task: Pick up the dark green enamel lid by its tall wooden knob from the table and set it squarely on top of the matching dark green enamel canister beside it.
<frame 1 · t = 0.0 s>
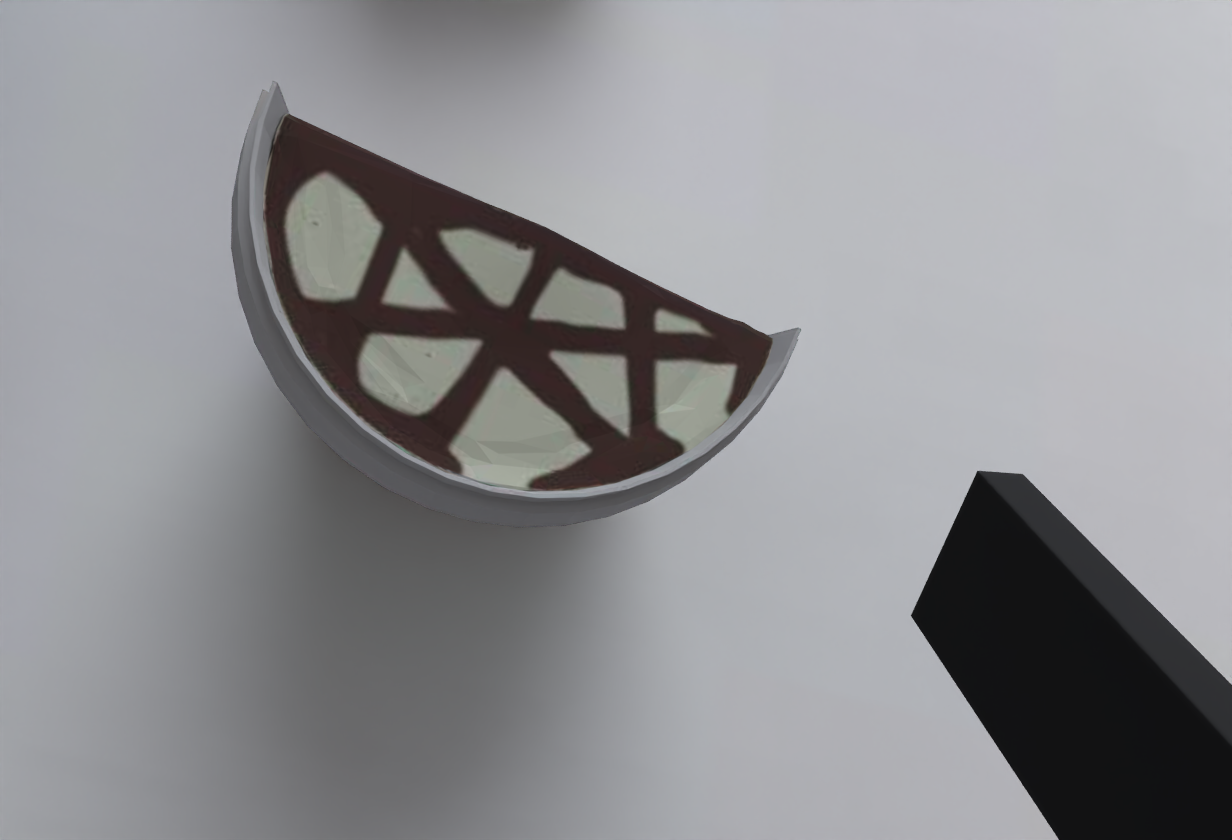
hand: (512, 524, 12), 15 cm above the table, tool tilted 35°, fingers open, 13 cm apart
food container: (446, 409, 27), on the table
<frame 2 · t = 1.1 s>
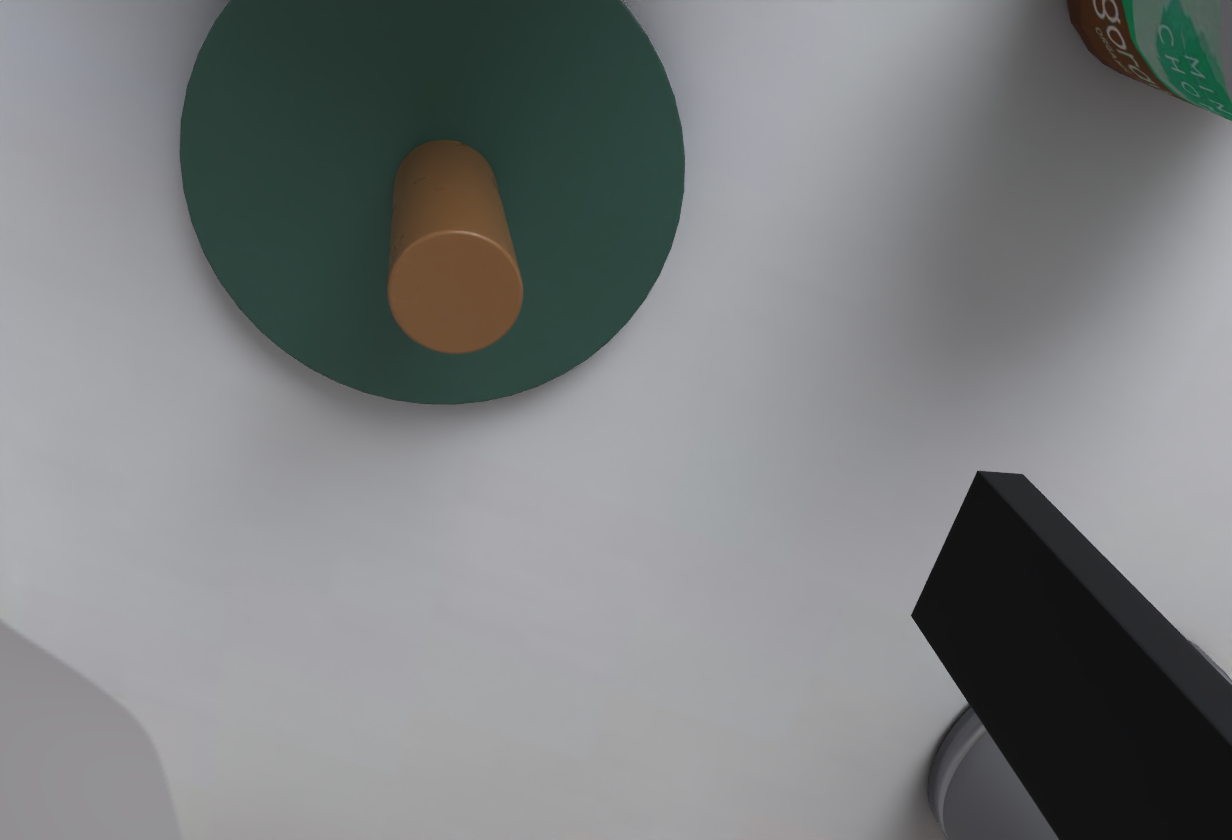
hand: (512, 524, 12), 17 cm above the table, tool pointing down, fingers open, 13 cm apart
food container: (1140, 3, 28), on the table
canister lid: (445, 183, 26), point 1 cm above the table
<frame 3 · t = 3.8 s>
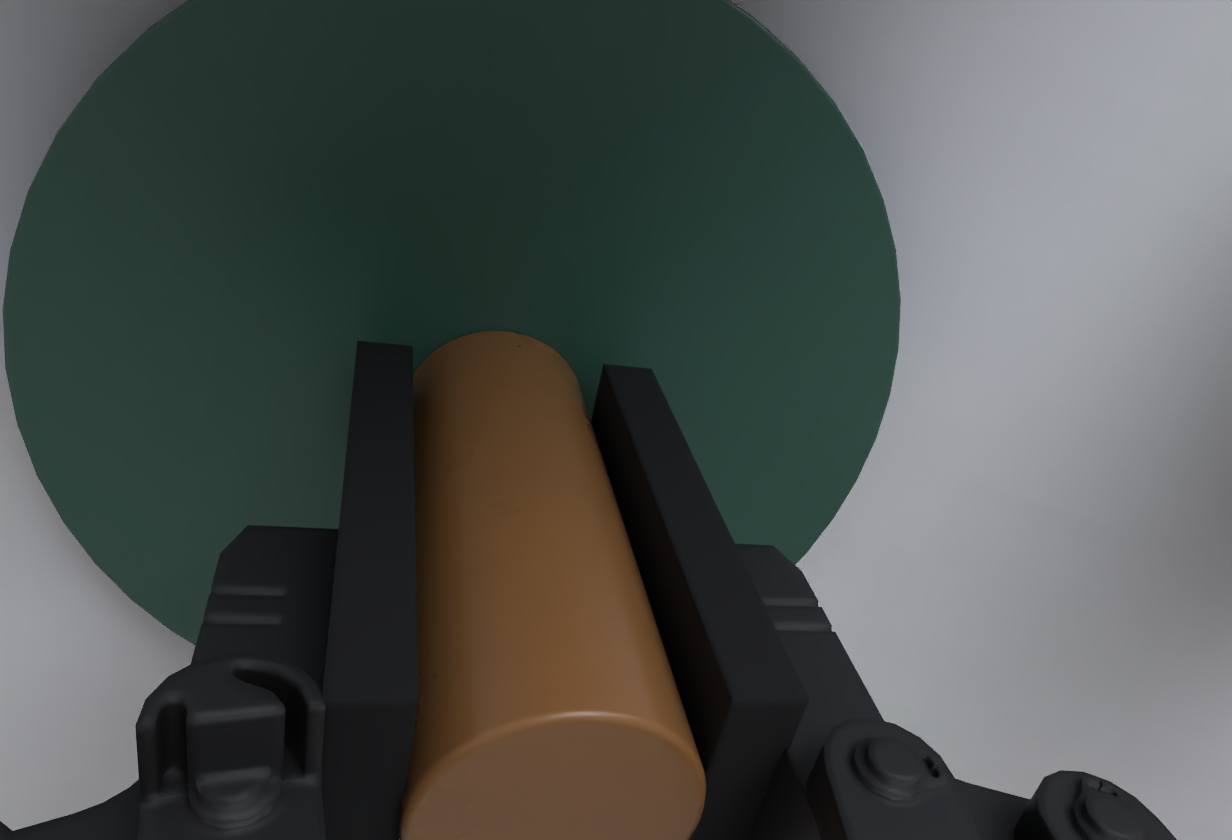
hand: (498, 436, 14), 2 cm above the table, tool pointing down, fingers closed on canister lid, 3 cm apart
canister lid: (490, 390, 15), point 1 cm above the table, touching gripper
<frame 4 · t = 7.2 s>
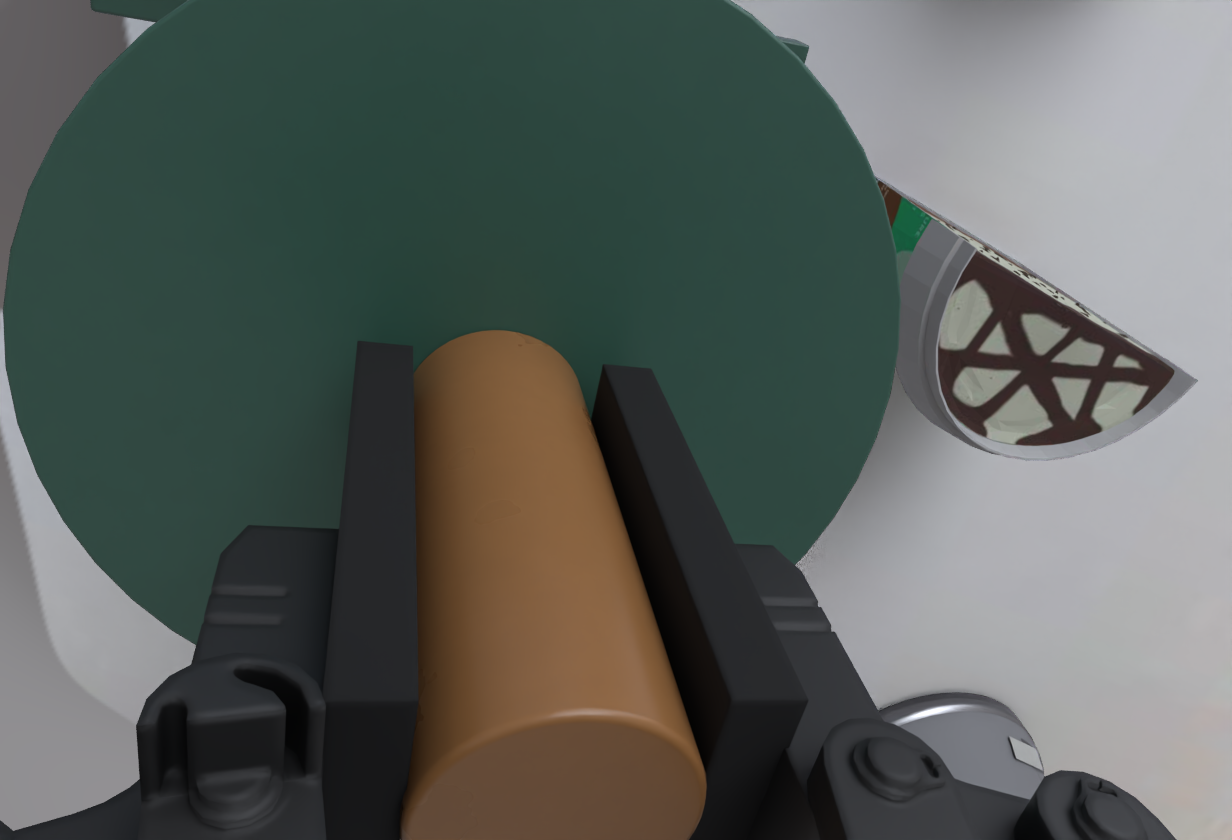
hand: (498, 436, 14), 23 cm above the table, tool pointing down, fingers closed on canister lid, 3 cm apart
food container: (901, 279, 40), on the table
canister lid: (490, 389, 15), point 21 cm above the table, touching gripper
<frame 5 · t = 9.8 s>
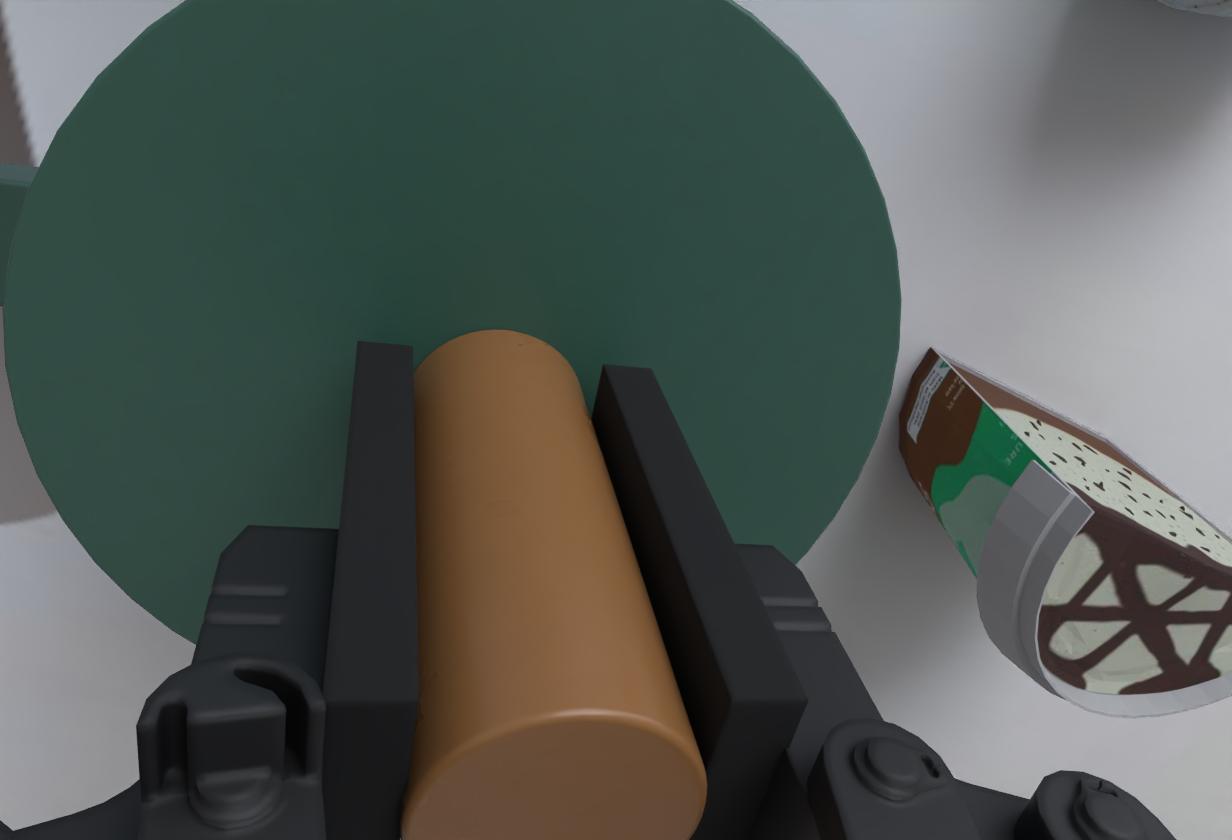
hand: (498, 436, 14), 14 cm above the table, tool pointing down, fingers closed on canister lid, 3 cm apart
food container: (967, 457, 35), on the table
canister: (457, 172, 26), on the table
canister lid: (491, 389, 15), point 13 cm above the table, touching gripper
when the fingers open (11 cm above the table, at t = 11.0 s): canister lid stays where it is, resting on canister.
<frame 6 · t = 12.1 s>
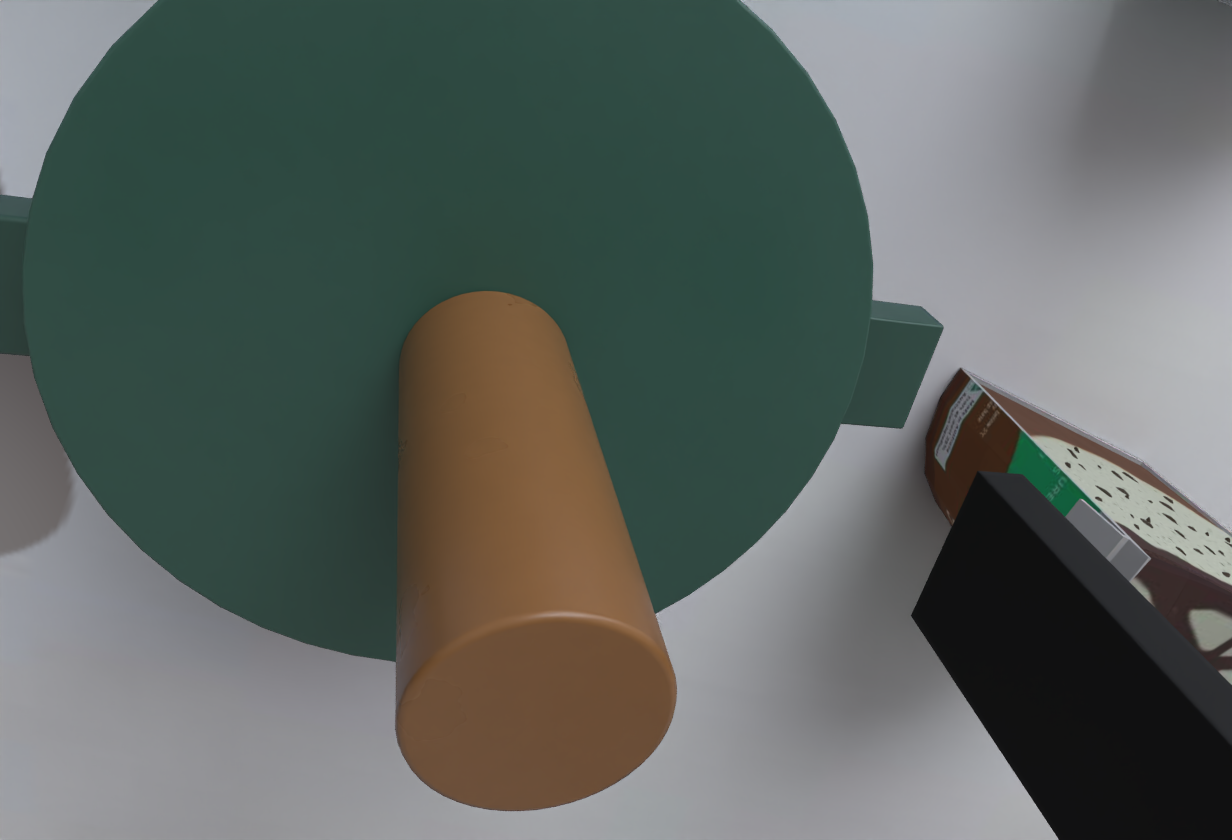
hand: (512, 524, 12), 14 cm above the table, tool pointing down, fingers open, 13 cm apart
food container: (996, 482, 33), on the table
canister: (457, 185, 24), on the table
canister lid: (483, 350, 16), point 9 cm above the table, touching canister
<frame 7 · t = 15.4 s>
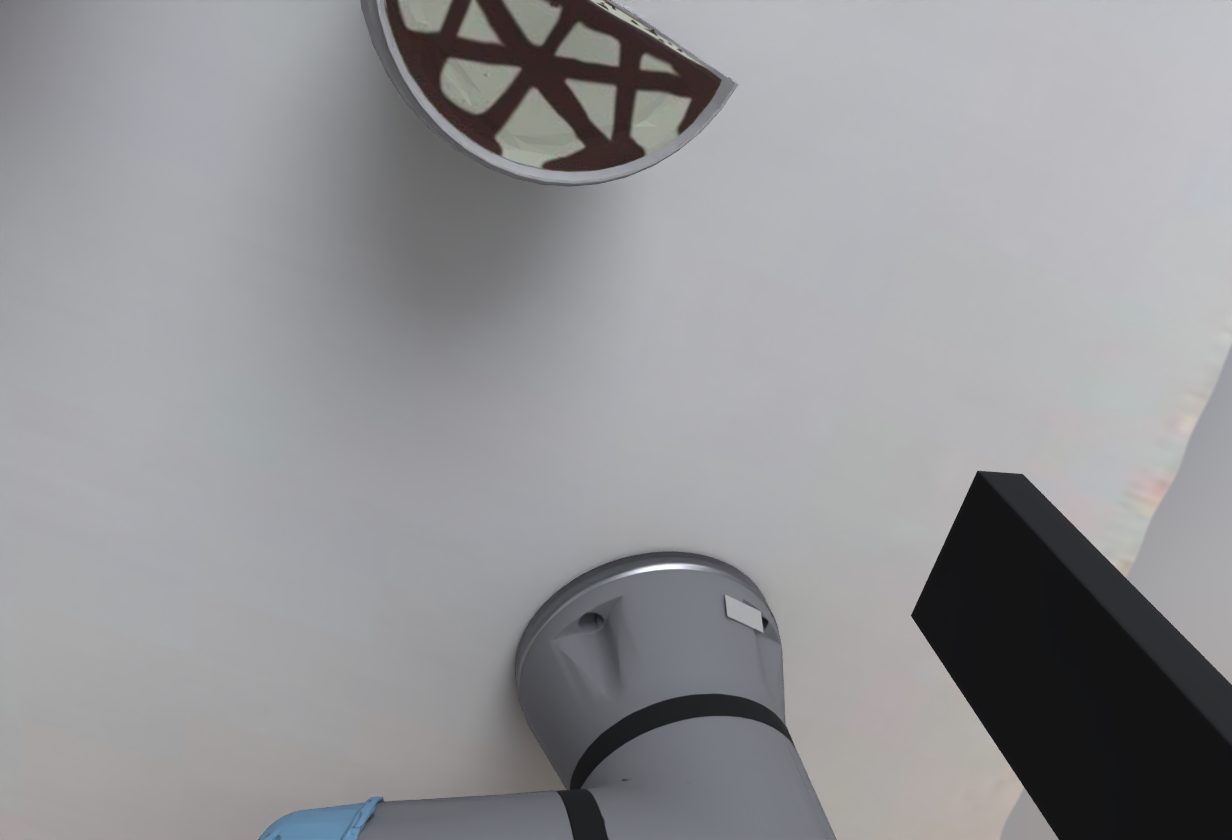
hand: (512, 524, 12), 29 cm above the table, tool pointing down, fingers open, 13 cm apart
food container: (499, 32, 36), on the table
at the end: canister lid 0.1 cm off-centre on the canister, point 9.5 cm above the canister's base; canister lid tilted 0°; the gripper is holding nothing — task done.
